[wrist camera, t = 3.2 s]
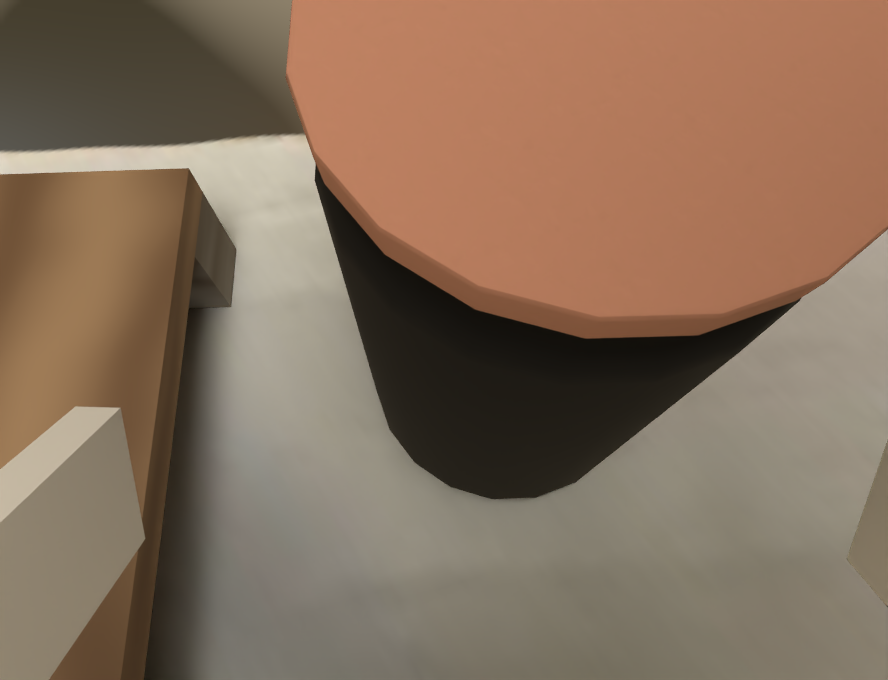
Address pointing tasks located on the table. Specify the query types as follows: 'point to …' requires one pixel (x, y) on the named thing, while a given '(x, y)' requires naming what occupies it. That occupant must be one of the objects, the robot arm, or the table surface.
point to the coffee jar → (581, 203)
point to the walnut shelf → (106, 345)
